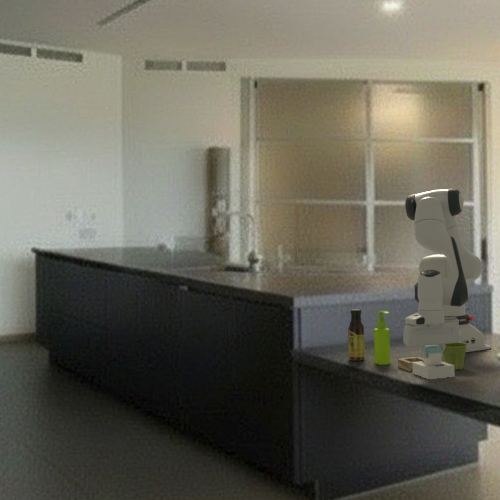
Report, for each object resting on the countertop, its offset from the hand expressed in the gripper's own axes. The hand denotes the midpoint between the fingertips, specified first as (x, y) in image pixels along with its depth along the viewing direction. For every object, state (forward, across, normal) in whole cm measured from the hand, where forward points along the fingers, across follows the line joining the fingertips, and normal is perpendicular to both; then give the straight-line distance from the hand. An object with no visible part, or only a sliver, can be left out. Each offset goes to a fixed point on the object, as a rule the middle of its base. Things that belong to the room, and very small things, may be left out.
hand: (432, 357), depth 261 cm
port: (+6, 0, 0) cm, 6 cm away
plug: (+4, 0, 0) cm, 4 cm away
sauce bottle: (+6, +12, -38) cm, 40 cm away
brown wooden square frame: (+6, 0, -14) cm, 15 cm away
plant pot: (+6, -12, -7) cm, 16 cm away
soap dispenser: (+6, +6, -27) cm, 28 cm away
